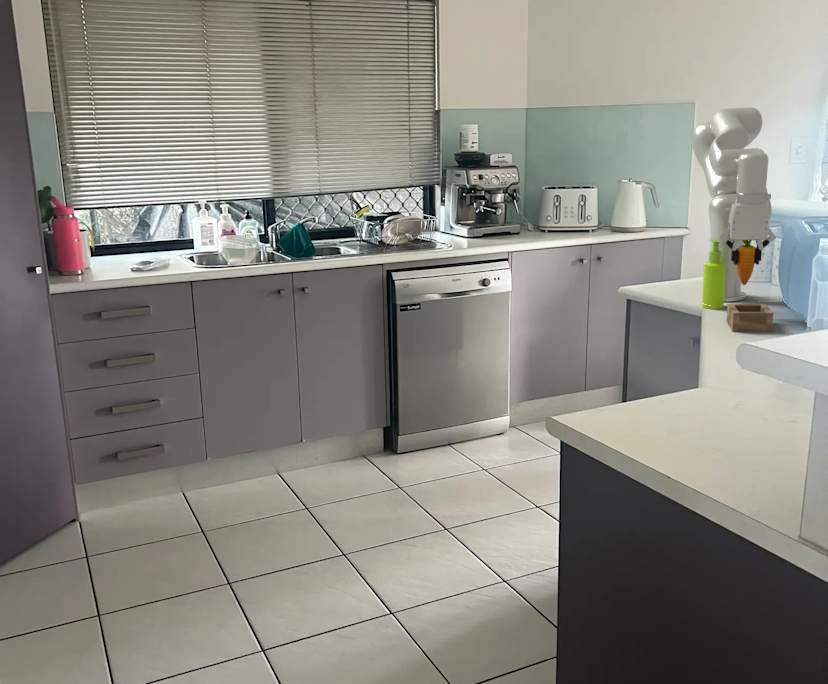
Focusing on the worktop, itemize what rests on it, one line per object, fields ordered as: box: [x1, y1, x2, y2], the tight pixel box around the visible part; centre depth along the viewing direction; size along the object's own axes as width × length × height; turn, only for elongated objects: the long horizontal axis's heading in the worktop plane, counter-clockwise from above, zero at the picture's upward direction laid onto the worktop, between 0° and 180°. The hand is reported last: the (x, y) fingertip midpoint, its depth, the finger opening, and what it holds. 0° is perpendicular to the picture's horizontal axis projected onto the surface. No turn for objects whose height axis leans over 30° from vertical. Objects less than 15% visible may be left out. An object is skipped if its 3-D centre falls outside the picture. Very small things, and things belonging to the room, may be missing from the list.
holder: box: [726, 303, 774, 332], centre depth 227 cm, size 10×10×5 cm
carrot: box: [737, 237, 756, 286], centre depth 234 cm, size 5×5×15 cm
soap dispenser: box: [701, 238, 725, 310], centre depth 246 cm, size 6×7×20 cm
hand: (745, 262), depth 234 cm, fingers closed on carrot, 5 cm apart
